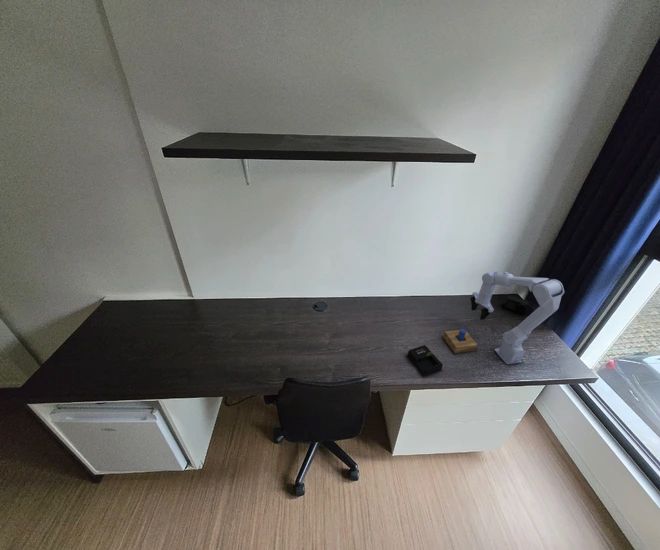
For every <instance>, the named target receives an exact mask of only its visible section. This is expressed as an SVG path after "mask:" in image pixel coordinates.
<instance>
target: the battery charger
mask: <svg viewBox="0 0 660 550" xmlns="http://www.w3.org/2000/svg"><path fill="white" fill-rule="evenodd" d="M407 357H408V359H409V360H410V361H411V362H412V364H413V365H414V366H415V367H416V368H417V370H418V372H419V373H420V374H421V375H422V376H423V377H426V376H429V375H432V374H434V373H438V372H440V371H442V369H443V363H442V362H441V361H440V359H439V358H438V357H437V356H436V355H435V354H434V353H433V352H432V350H430V348H429V347H428V346H427V345H426V344H424V345H420V346H417V347H414V348H412V349H408V351H407Z"/></svg>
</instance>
